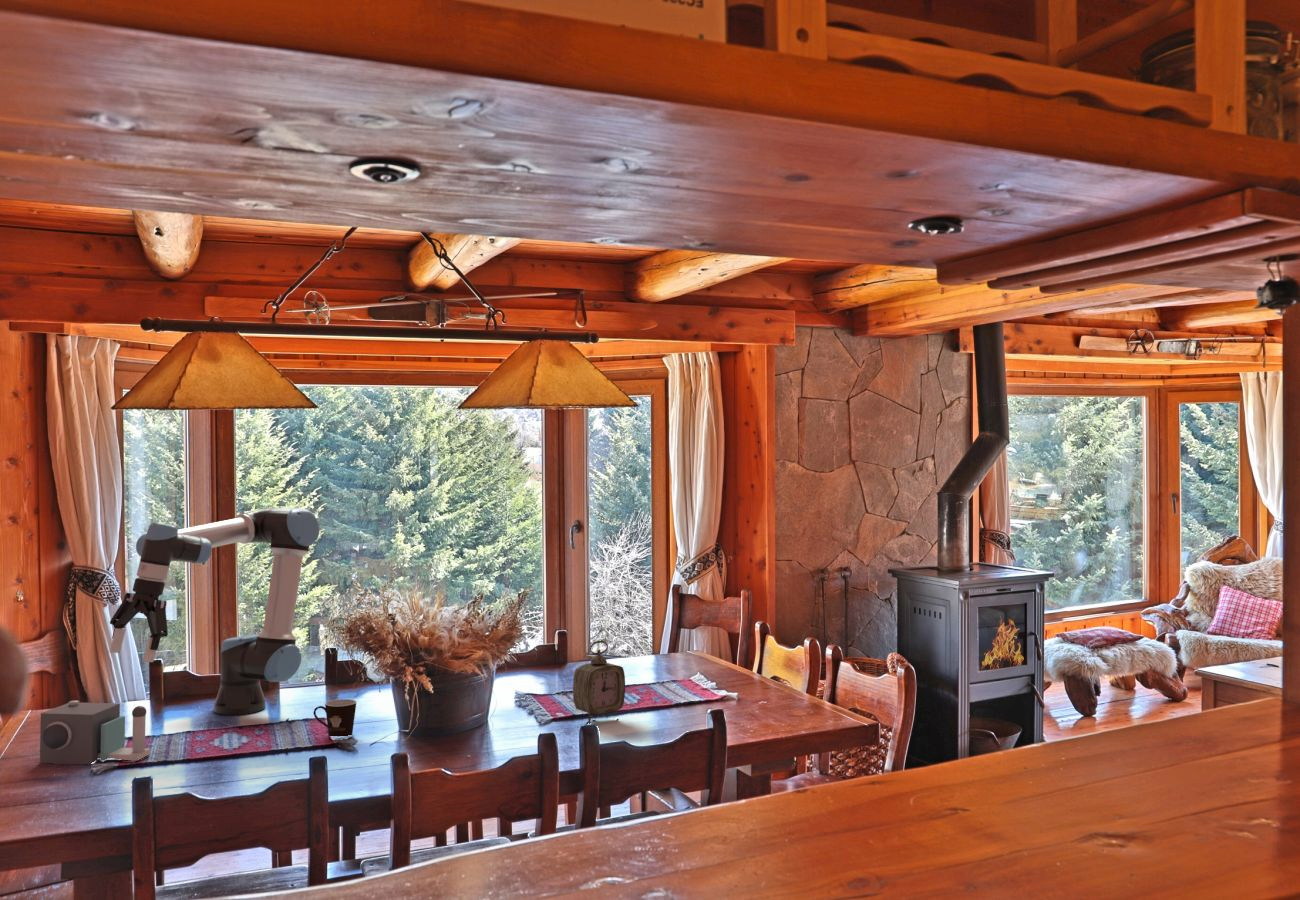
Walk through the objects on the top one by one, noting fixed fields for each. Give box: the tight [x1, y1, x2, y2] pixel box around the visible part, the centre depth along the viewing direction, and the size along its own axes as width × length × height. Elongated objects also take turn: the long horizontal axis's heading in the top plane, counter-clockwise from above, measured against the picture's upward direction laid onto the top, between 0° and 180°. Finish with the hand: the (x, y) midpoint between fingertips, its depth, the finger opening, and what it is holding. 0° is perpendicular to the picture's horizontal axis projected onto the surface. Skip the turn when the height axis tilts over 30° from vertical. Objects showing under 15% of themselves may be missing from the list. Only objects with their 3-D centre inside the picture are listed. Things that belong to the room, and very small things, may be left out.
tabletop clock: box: [572, 640, 626, 725], centre depth 307 cm, size 14×9×25 cm, turn 131°
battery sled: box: [98, 705, 151, 761], centre depth 265 cm, size 19×9×14 cm, turn 87°
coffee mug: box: [313, 698, 357, 737], centre depth 288 cm, size 12×9×10 cm
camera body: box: [39, 700, 121, 766], centre depth 264 cm, size 14×14×14 cm
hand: (131, 657), depth 270 cm, fingers open, 13 cm apart
